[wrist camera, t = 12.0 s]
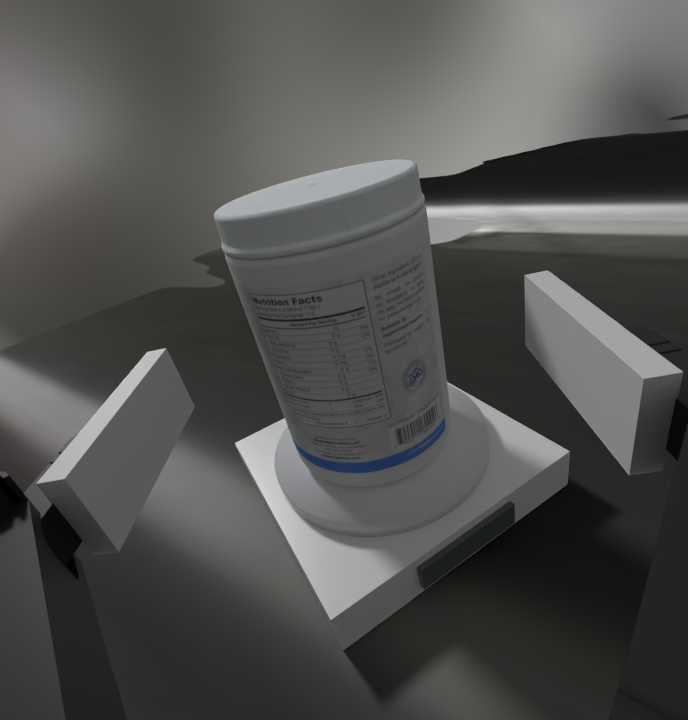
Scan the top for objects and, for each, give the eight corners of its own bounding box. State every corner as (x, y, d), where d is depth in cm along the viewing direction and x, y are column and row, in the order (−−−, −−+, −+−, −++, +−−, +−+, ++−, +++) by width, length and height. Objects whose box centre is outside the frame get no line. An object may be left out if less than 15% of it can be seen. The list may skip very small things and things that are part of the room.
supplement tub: (321, 393, 31) (259, 185, 24) (453, 385, 29) (426, 147, 22) (276, 496, 23) (164, 229, 16) (453, 499, 21) (409, 179, 14)
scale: (246, 468, 31) (230, 432, 30) (409, 382, 36) (403, 347, 35) (346, 656, 19) (328, 612, 17) (572, 487, 24) (575, 440, 22)
